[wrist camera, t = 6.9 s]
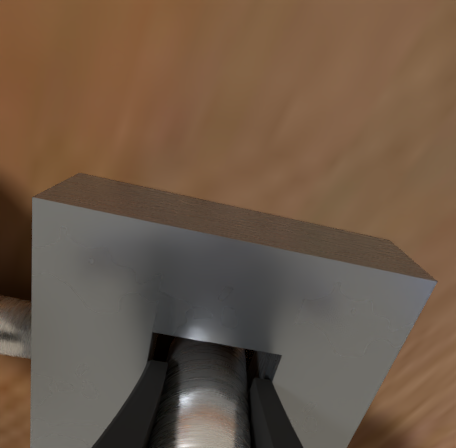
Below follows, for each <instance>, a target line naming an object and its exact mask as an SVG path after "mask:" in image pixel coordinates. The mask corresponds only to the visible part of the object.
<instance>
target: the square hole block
mask: <svg viewBox="0 0 456 448" xmlns="http://www.w3.org/2000/svg"><path fill="white" fill-rule="evenodd" d="M436 283H437V281H436V280H435V279H434V278H433V277H432V276H430V275H429V274H428V273H427V272H426V271H425V270H423V269H422V268H421V267H420V266H419V265H418V264H416V263H415V262H414V261H413V260H412V259H411V258H410V257H408V256H407V255H406V254H405V253H404V252H403V251H401V250H400V249H399V248H398V247H397V246H396V245H394V244H393V243H392V242H391V241H389V240H385V239H380V238H376V237H371V236H366V235H362V234H357V233H353V232H348V231H343V230H339V229H334V228H330V227H325V226H320V225H316V224H311V223H307V222H302V221H298V220H293V219H288V218H284V217H279V216H275V215H270V214H265V213H261V212H256V211H252V210H247V209H243V208H238V207H233V206H229V205H224V204H220V203H215V202H210V201H206V200H201V199H197V198H192V197H188V196H183V195H178V194H174V193H169V192H165V191H160V190H155V189H151V188H146V187H142V186H137V185H132V184H128V183H123V182H119V181H114V180H110V179H105V178H100V177H96V176H91V175H87V174H82V173H78V174H76V175H74V176H73V177H71V178H69V179H67V180H65V181H63V182H61V183H59V184H57V185H55V186H53V187H51V188H49V189H47V190H45V191H43V192H41V193H39V194H37V195H36V196H34V197H32V301H29V300H24V299H18V298H12V297H7V296H1V295H0V354H2V355H8V356H15V357H21V358H27V359H31V444H30V448H91V447H92V446H93V445H94V444H95V442H96V441H97V440H98V439H99V437H100V436H101V435H102V433H103V432H104V431H105V429H106V428H107V427H108V425H109V424H110V423H111V421H112V420H113V419H114V417H115V416H116V414H117V413H118V412H119V410H120V409H121V407H122V406H123V404H124V403H125V401H126V400H127V398H128V397H129V395H130V394H131V392H132V390H133V389H134V387H135V385H136V384H137V382H138V380H139V378H140V377H141V375H142V373H143V371H144V369H145V366H146V364H147V362H148V361H150V360H153V358H154V353H155V347H156V342H157V337H158V333H160V334H166V335H171V336H177V337H183V338H188V339H194V340H200V341H205V342H211V343H217V344H222V345H228V346H234V347H239V348H245V349H251V350H254V353H253V356H252V359H251V362H250V365H249V368H248V371H247V388H248V394H249V391H250V389H251V386H252V383H253V380H254V378H260V379H266V380H271V381H272V383H273V385H274V387H275V390H276V392H277V394H278V397H279V399H280V401H281V403H282V405H283V407H284V410H285V412H286V414H287V416H288V418H289V420H290V422H291V424H292V426H293V428H294V430H295V432H296V434H297V436H298V438H299V440H300V442H301V444H302V446H303V448H347V446H348V444H349V442H350V441H351V439H352V437H353V435H354V433H355V431H356V430H357V428H358V426H359V424H360V422H361V421H362V419H363V417H364V415H365V413H366V411H367V410H368V408H369V406H370V404H371V402H372V400H373V399H374V397H375V395H376V393H377V391H378V389H379V388H380V386H381V384H382V382H383V380H384V378H385V377H386V375H387V373H388V371H389V369H390V367H391V366H392V364H393V362H394V360H395V358H396V357H397V355H398V353H399V351H400V349H401V347H402V346H403V344H404V342H405V340H406V338H407V336H408V335H409V333H410V331H411V329H412V327H413V325H414V324H415V322H416V320H417V318H418V316H419V314H420V313H421V311H422V309H423V307H424V305H425V304H426V302H427V300H428V298H429V296H430V294H431V293H432V291H433V289H434V287H435V285H436Z"/></svg>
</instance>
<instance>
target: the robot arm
mask: <svg viewBox="0 0 456 448" xmlns="http://www.w3.org/2000/svg"><path fill="white" fill-rule="evenodd" d="M167 367H168V363H166V362H161V361H155V360H150V361H148V362H147V364H146V366H145V369H144V371H143V373H142V375H141V377H140V378H139V380H138V382H137V384H136V385H135V387H134V389H133V390H132V392H131V394H130V395H129V397H128V398H127V400H126V401H125V403H124V404H123V406H122V407H121V409H120V410H119V412H118V413H117V414H116V416H115V417H114V419H113V420H112V421H111V423H110V424H109V425H108V427H107V428H106V429H105V431H104V432H103V433H102V435H101V436H100V437H99V439H98V440H97V441H96V442H95V444H94V445H93V446H92V447H91V448H147V446H148V442H149V439H150V435H151V432H152V428H153V425H154V422H155V418H156V415H157V412H158V408H159V404H160V399H161V395H162V390H163V386H164V381H165V376H166V372H167ZM248 402H249V417H250V432H251V447H252V448H303V446H302V444H301V442H300V440H299V438H298V436H297V434H296V432H295V430H294V428H293V426H292V424H291V422H290V420H289V418H288V416H287V414H286V412H285V410H284V407H283V405H282V403H281V401H280V399H279V397H278V394H277V392H276V390H275V387H274V385H273V383H272V381H271V380H266V379H260V378H254V380H253V383H252V386H251V389H250V391H249V394H248Z"/></svg>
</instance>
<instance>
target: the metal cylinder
mask: <svg viewBox="0 0 456 448" xmlns="http://www.w3.org/2000/svg"><path fill="white" fill-rule="evenodd" d="M166 363H168V367H167V372H166V376H165V381H164V386H163V390H162V395H161V399H160V404H159V408H158V412H157V415H156V418H155V422H154V425H153V428H152V432H151V435H150V439H149V442H148V446H147V448H252V447H251V432H250V417H249V402H248V388H247V373H246V358H245V350H244V348H239V347H234V346H228V345H222V344H217V343H211V342H205V341H200V340H194V339H188V338H183V337H177V336H176V337H175V339H174V340H173V341H172V343H171V345H170V348H169V353H168V357H167V361H166Z"/></svg>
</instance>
